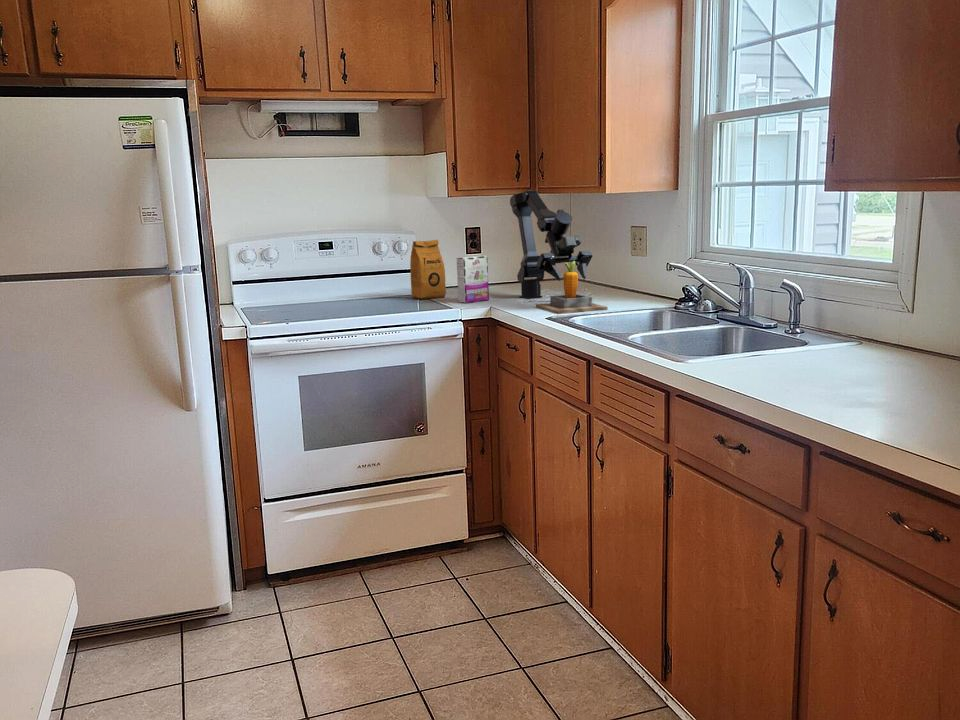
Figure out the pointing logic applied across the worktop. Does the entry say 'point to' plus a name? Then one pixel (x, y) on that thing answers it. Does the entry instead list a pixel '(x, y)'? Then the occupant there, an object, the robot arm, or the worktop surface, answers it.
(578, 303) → the socket base
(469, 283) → the candy bar box
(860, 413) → the worktop surface
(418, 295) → the coffee package
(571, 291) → the carrot
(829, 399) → the worktop surface
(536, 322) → the worktop surface
